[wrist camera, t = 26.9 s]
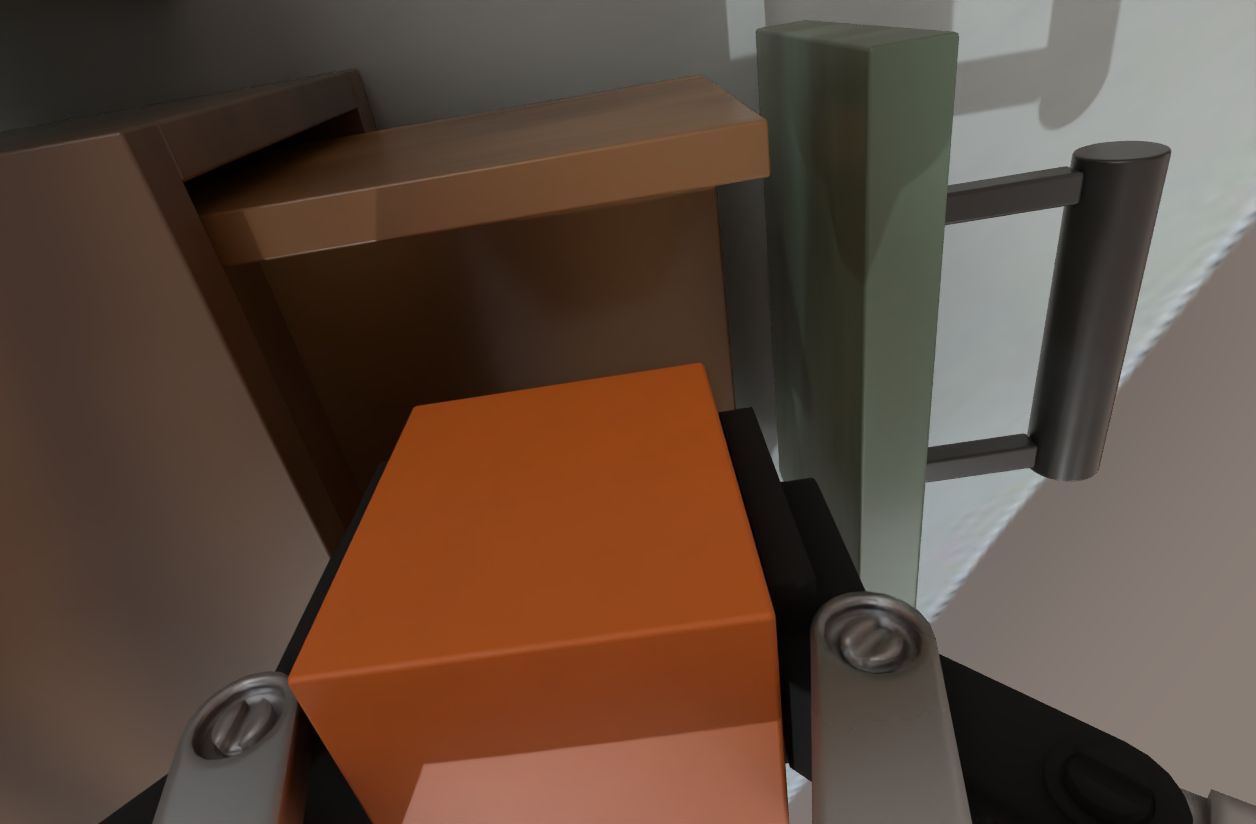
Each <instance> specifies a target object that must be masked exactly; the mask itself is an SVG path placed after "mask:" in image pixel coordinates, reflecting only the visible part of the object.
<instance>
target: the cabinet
mask: <svg viewBox="0 0 1256 824" xmlns="http://www.w3.org/2000/svg"><path fill="white" fill-rule="evenodd" d="M373 131H377V129H376V126H375V123H374V120H373V117H372V114H371V110H370V107H369V104H368V101H367V98H366V95H365V91H364V88H363V85H362V82H361V79H360V76H359V73H358V70H357V69H350V70H345V71H339V72H334V73H328V74H322V75H317V76H311V77H306V78H300V79H294V80H289V81H283V82H278V83H272V84H266V85H261V86H255V87H250V88H244V89H238V90H233V91H227V92H222V93H216V94H210V95H205V96H199V97H194V98H188V99H182V100H177V101H171V102H166V103H160V104H154V105H149V106H143V107H138V108H132V109H126V110H121V111H115V112H110V113H104V114H98V115H93V116H87V117H82V118H76V119H70V120H65V121H59V122H54V123H48V124H42V125H37V126H31V127H26V128H20V129H14V130H9V131H3V132H0V824H98V823H100V822H101V821H103V820H104V819H105V818H107V817H108V816H110V815H111V814H112V813H114V812H115V811H116V810H118V809H119V808H121V807H122V806H123V805H125V804H126V803H128V802H129V801H130V800H132V799H133V798H135V797H136V796H137V795H139V794H140V793H141V792H143V791H144V790H146V789H147V788H148V787H150V786H151V785H153V784H154V783H155V782H157V781H158V780H159V779H161V778H162V777H164V776H165V775H166V774H168V773H169V770H170V767H171V764H172V761H173V758H174V755H175V752H176V748H177V745H178V742H179V739H180V737H181V735H182V732H183V730H184V728H185V726H186V724H187V722H188V721H189V720H190V718H191V717H192V716H193V715H194V713H195V712H196V711H197V710H198V708H199V707H200V706H201V705H202V704H203V703H205V702H206V701H207V700H208V699H209V698H210V697H211V696H212V695H214V694H215V693H216V692H218V691H219V690H221V689H222V688H224V687H225V686H227V685H229V684H230V683H232V682H234V681H236V680H238V679H241V678H243V677H246V676H248V675H250V674H255V673H260V672H265V671H272V672H275V670H276V668H277V666H278V664H279V662H280V660H281V658H282V656H283V654H284V652H285V650H286V648H287V646H288V644H289V642H290V640H291V638H292V636H293V634H294V632H295V629H296V627H297V625H298V623H299V621H300V619H301V617H302V615H303V613H304V611H305V609H306V607H307V605H308V603H309V601H310V599H311V597H312V595H313V593H314V591H315V589H316V586H317V584H318V582H319V580H320V578H321V576H322V574H323V572H324V570H325V568H326V566H327V564H328V562H329V560H330V558H331V556H332V554H333V553H334V551H335V550H336V548H338V547H339V546H340V544H341V542H342V540H343V538H344V536H345V534H346V531H345V529H344V527H343V525H342V522H341V520H340V518H339V516H338V514H337V512H336V510H335V507H334V505H333V503H332V501H331V499H330V497H329V495H328V492H327V490H326V488H325V486H324V484H323V482H322V480H321V477H320V475H319V473H318V471H317V469H316V467H315V465H314V462H313V460H312V458H311V456H310V454H309V452H308V450H307V447H306V445H305V443H304V441H303V439H302V437H301V434H300V432H299V430H298V428H297V426H296V424H295V422H294V419H293V417H292V415H291V413H290V411H289V409H288V407H287V404H286V402H285V400H284V398H283V396H282V394H281V392H280V389H279V387H278V385H277V383H276V381H275V379H274V377H273V374H272V372H271V370H270V368H269V366H268V364H267V361H266V359H265V357H264V355H263V353H262V351H261V349H260V346H259V344H258V342H257V340H256V338H255V336H254V334H253V331H252V329H251V327H250V325H249V323H248V321H247V319H246V316H245V314H244V312H243V310H242V308H241V306H240V304H239V301H238V299H237V297H236V295H235V293H234V291H233V289H232V286H231V284H230V282H229V280H228V278H227V276H226V273H225V271H224V269H223V267H222V265H221V263H220V261H219V258H218V256H217V254H216V252H215V250H214V248H213V246H212V243H211V241H210V239H209V237H208V235H207V233H206V231H205V228H204V226H203V224H202V222H201V220H200V218H199V216H198V213H197V211H196V209H195V207H194V205H193V203H192V200H191V198H190V196H189V194H188V192H187V190H186V188H185V185H184V183H183V182H186V181H188V180H190V179H193V178H195V177H197V176H200V175H202V174H205V173H207V172H209V171H212V170H214V169H216V168H219V167H221V166H223V165H226V164H228V163H230V162H233V161H235V160H237V159H240V158H242V157H244V156H247V155H249V154H251V153H254V152H257V151H263V150H269V149H275V148H280V147H286V146H292V145H298V144H303V143H309V142H315V141H321V140H326V139H332V138H338V137H344V136H349V135H355V134H361V133H367V132H373Z"/></svg>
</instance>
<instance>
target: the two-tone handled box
mask: <svg viewBox="0 0 1256 824" xmlns="http://www.w3.org/2000/svg"><path fill="white" fill-rule="evenodd" d="M958 42H959V36H958V33H956V32H950V31H937V30H924V29H912V28H899V27H886V26H873V25H860V24H848V23H835V22H822V21H809V20H804V21H798V22H792V23H787V24H781V25H775V26H770V27H764V28H758V29H757V30H756V49H757V67H758V86H759V104H760V115H759V114H758V113H756V112H755V111H753V110H752V109H750V108H749V107H748V106H746V105H745V104H743V103H742V102H740V101H739V100H738V99H736V98H735V97H733V96H732V95H730V94H729V93H728V92H726V91H725V90H723V89H722V88H720V87H719V86H717V85H716V84H715V83H713V82H712V81H710V80H709V79H707V78H705V77H704V76H702V75H695V76H689V77H683V78H677V79H672V80H666V81H660V82H654V83H649V84H643V85H637V86H631V87H626V88H620V89H614V90H608V91H603V92H597V93H591V94H585V95H580V96H574V97H568V98H562V99H557V100H551V101H545V102H539V103H534V104H528V105H522V106H516V107H511V108H505V109H499V110H493V111H488V112H482V113H476V114H470V115H465V116H459V117H453V118H447V119H442V120H436V121H430V122H424V123H419V124H413V125H407V126H401V127H396V128H390V129H384V130H378V131H373V132H367V133H361V134H355V135H349V136H344V137H338V138H332V139H326V140H321V141H315V142H309V143H303V144H298V145H292V146H286V147H280V148H275V149H269V150H263V151H257V152H254V153H251V154H249V155H247V156H244V157H242V158H240V159H237V160H235V161H233V162H230V163H228V164H226V165H223V166H221V167H219V168H216V169H214V170H212V171H209V172H207V173H205V174H202V175H200V176H197V177H195V178H193V179H190V180H188V181H186V182H183V183H184V185H185V188H186V190H187V192H188V194H189V196H190V198H191V200H192V203H193V205H194V207H195V209H196V211H197V213H198V216H199V218H200V220H201V222H202V224H203V226H204V228H205V231H206V233H207V235H208V237H209V239H210V241H211V243H212V246H213V248H214V250H215V252H216V254H217V256H218V258H219V261H220V263H221V265H222V267H223V269H224V271H225V273H226V276H227V278H228V280H229V282H230V284H231V286H232V289H233V291H234V293H235V295H236V297H237V299H238V301H239V304H240V306H241V308H242V310H243V312H244V314H245V316H246V319H247V321H248V323H249V325H250V327H251V329H252V331H253V334H254V336H255V338H256V340H257V342H258V344H259V346H260V349H261V351H262V353H263V355H264V357H265V359H266V361H267V364H268V366H269V368H270V370H271V372H272V374H273V377H274V379H275V381H276V383H277V385H278V387H279V389H280V392H281V394H282V396H283V398H284V400H285V402H286V404H287V407H288V409H289V411H290V413H291V415H292V417H293V419H294V422H295V424H296V426H297V428H298V430H299V432H300V434H301V437H302V439H303V441H304V443H305V445H306V447H307V450H308V452H309V454H310V456H311V458H312V460H313V462H314V465H315V467H316V469H317V471H318V473H319V475H320V477H321V480H322V482H323V484H324V486H325V488H326V490H327V492H328V495H329V497H330V499H331V501H332V503H333V505H334V507H335V510H336V512H337V514H338V516H339V518H340V520H341V522H342V525H343V527H344V529H345V531H346V532H347V530H348V527H349V525H350V523H351V521H352V519H353V517H354V515H355V513H356V511H357V509H358V507H359V505H360V503H361V501H362V498H363V496H364V494H365V492H366V490H367V488H368V486H369V484H370V482H371V480H372V478H373V476H374V474H375V471H376V469H377V467H378V466H379V464H380V463H382V462H387V461H389V459H390V457H391V455H392V453H393V451H394V449H395V446H396V444H397V442H398V440H399V438H400V436H401V433H402V431H403V429H404V427H405V425H406V423H407V421H408V418H409V416H410V414H411V412H412V410H413V408H414V407H416V406H420V405H427V404H433V403H440V402H446V401H453V400H459V399H466V398H472V397H479V396H485V395H492V394H498V393H505V392H511V391H518V390H524V389H531V388H537V387H544V386H550V385H557V384H563V383H570V382H576V381H583V380H590V379H596V378H603V377H609V376H616V375H622V374H629V373H635V372H642V371H648V370H655V369H661V368H668V367H674V366H681V365H687V364H694V363H703V365H704V366H705V370H706V373H707V377H708V380H709V384H710V387H711V391H712V394H713V398H714V401H715V405H716V408H717V412H718V415H719V412H722V411H729V410H735V409H736V402H735V391H734V379H733V368H732V357H731V346H730V334H729V323H728V312H727V300H726V289H725V278H724V266H723V255H722V244H721V232H720V221H719V210H718V198H717V187H716V186H719V185H725V184H731V183H737V182H743V181H749V180H755V179H761V178H764V196H765V214H766V232H767V251H768V269H769V287H770V305H771V324H772V342H773V360H774V379H775V397H776V415H777V434H778V452H779V470H780V473H781V476H782V478H783V481H791V480H798V479H805V478H814V479H815V480H816V482H817V484H818V486H819V488H820V490H821V492H822V494H823V497H824V499H825V501H826V503H827V506H828V508H829V510H830V512H831V515H832V517H833V519H834V521H835V524H836V526H837V528H838V530H839V532H840V535H841V537H842V539H843V541H844V544H845V546H846V548H847V550H848V553H849V555H850V557H851V559H852V561H853V564H854V566H855V568H856V570H857V573H858V575H859V577H860V579H861V582H862V584H863V586H864V588H865V591H870V592H876V593H883V594H887V595H890V596H893V597H895V598H898V599H900V600H903V601H905V602H906V603H908V604H909V605H911V606H912V607H914V608H915V609H916V597H917V583H918V570H919V557H920V544H921V531H922V518H923V504H924V491H925V483H926V482H933V481H940V480H947V479H954V478H961V477H968V476H975V475H982V474H989V473H996V472H1003V471H1010V470H1017V469H1024V468H1030V469H1031V470H1033V471H1034V472H1036V473H1037V474H1040V475H1042V476H1044V477H1047V478H1050V479H1055V480H1059V481H1080V480H1085V479H1088V478H1090V477H1092V476H1094V475H1095V474H1096V473H1097V471H1098V470H1099V466H1100V462H1101V458H1102V453H1103V449H1104V445H1105V440H1106V435H1107V431H1108V427H1109V423H1110V418H1111V414H1112V409H1113V405H1114V401H1115V397H1116V392H1117V388H1118V383H1119V379H1120V375H1121V370H1122V366H1123V362H1124V357H1125V353H1126V349H1127V344H1128V340H1129V335H1130V331H1131V327H1132V322H1133V318H1134V314H1135V309H1136V305H1137V301H1138V296H1139V292H1140V287H1141V283H1142V279H1143V274H1144V270H1145V266H1146V261H1147V257H1148V253H1149V248H1150V244H1151V239H1152V235H1153V231H1154V226H1155V222H1156V218H1157V213H1158V209H1159V205H1160V200H1161V196H1162V191H1163V187H1164V183H1165V178H1166V174H1167V170H1168V165H1169V161H1170V157H1171V149H1170V147H1168V146H1166V145H1163V144H1159V143H1154V142H1145V141H1116V142H1105V143H1098V144H1092V145H1088V146H1085V147H1082V148H1079V149H1077V150H1075V151H1074V153H1073V155H1072V160H1071V166H1070V167H1067V166H1065V167H1059V168H1053V169H1047V170H1041V171H1034V172H1028V173H1022V174H1016V175H1010V176H1004V177H998V178H992V179H985V180H979V181H973V182H967V183H961V184H955V185H949V186H948V174H949V161H950V148H951V135H952V122H953V108H954V95H955V82H956V69H957V56H958ZM1062 206H1064V210H1063V216H1062V222H1061V228H1060V234H1059V241H1058V247H1057V253H1056V259H1055V266H1054V272H1053V278H1052V284H1051V290H1050V297H1049V303H1048V309H1047V315H1046V322H1045V328H1044V334H1043V340H1042V346H1041V353H1040V359H1039V365H1038V371H1037V378H1036V384H1035V390H1034V396H1033V402H1032V409H1031V415H1030V421H1029V427H1028V434H1027V435H1026V434H1016V435H1009V436H1003V437H996V438H989V439H982V440H975V441H968V442H961V443H954V444H947V445H941V446H934V447H928V438H929V425H930V412H931V399H932V386H933V372H934V359H935V346H936V333H937V320H938V306H939V293H940V280H941V267H942V254H943V240H944V227H945V225H949V224H956V223H962V222H968V221H974V220H981V219H987V218H993V217H999V216H1006V215H1012V214H1018V213H1024V212H1030V211H1037V210H1043V209H1049V208H1055V207H1062Z"/></svg>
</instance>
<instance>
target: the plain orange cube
mask: <svg viewBox="0 0 1256 824" xmlns="http://www.w3.org/2000/svg"><path fill="white" fill-rule="evenodd" d="M288 686H289V687H290V689H291V690H292V692H293V694H294V695H295V697H296V699H297V700H298V702H299V704H300V705H301V707H302V709H303V710H304V712H305V713H306V715H307V717H308V718H309V720H310V722H311V723H312V725H313V727H314V728H315V730H316V732H317V733H318V735H319V736H320V738H321V740H322V741H323V743H324V745H325V746H326V748H327V750H328V751H329V753H330V755H331V756H332V758H333V759H334V761H335V763H336V764H337V766H338V768H339V769H340V771H341V773H342V774H343V776H344V778H345V779H346V781H347V782H348V784H349V786H350V787H351V789H352V791H353V792H354V794H355V796H356V797H357V799H358V801H359V802H360V804H361V805H362V807H363V809H364V810H365V812H366V814H367V815H368V817H369V819H370V820H371V822H372V824H789V812H788V797H787V782H786V767H785V752H784V737H783V722H782V707H781V692H780V677H779V662H778V647H777V632H776V617H775V612H774V609H773V605H772V602H771V598H770V595H769V591H768V588H767V584H766V581H765V577H764V574H763V570H762V567H761V563H760V560H759V556H758V552H757V549H756V545H755V542H754V538H753V535H752V531H751V528H750V524H749V521H748V517H747V514H746V510H745V507H744V503H743V500H742V496H741V493H740V489H739V486H738V482H737V479H736V475H735V472H734V468H733V465H732V461H731V458H730V454H729V451H728V447H727V444H726V440H725V437H724V433H723V429H722V426H721V422H720V419H719V415H718V412H717V408H716V405H715V401H714V398H713V394H712V391H711V387H710V384H709V380H708V377H707V373H706V370H705V366H704V365H703V363H694V364H687V365H681V366H674V367H668V368H661V369H655V370H648V371H642V372H635V373H629V374H622V375H616V376H609V377H603V378H596V379H590V380H583V381H576V382H570V383H563V384H557V385H550V386H544V387H537V388H531V389H524V390H518V391H511V392H505V393H498V394H492V395H485V396H479V397H472V398H466V399H459V400H453V401H446V402H440V403H433V404H427V405H420V406H416V407H414V408H413V410H412V412H411V414H410V416H409V418H408V421H407V423H406V425H405V427H404V429H403V431H402V433H401V436H400V438H399V440H398V442H397V444H396V446H395V449H394V451H393V453H392V455H391V457H390V459H389V461H388V464H387V466H386V468H385V470H384V472H383V474H382V477H381V479H380V481H379V483H378V485H377V487H376V489H375V492H374V494H373V496H372V498H371V500H370V502H369V505H368V507H367V509H366V511H365V513H364V515H363V517H362V520H361V522H360V524H359V526H358V528H357V530H356V532H355V535H354V537H353V539H352V541H351V543H350V545H349V548H348V550H347V552H346V554H345V556H344V558H343V560H342V563H341V565H340V567H339V569H338V571H337V573H336V576H335V578H334V580H333V582H332V584H331V586H330V588H329V591H328V593H327V595H326V597H325V599H324V601H323V604H322V606H321V608H320V610H319V612H318V614H317V616H316V619H315V621H314V623H313V625H312V627H311V629H310V632H309V634H308V636H307V638H306V640H305V642H304V644H303V647H302V649H301V651H300V653H299V655H298V657H297V659H296V662H295V664H294V666H293V668H292V670H291V672H290V675H289V677H288Z"/></svg>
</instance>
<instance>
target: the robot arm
mask: <svg viewBox="0 0 1256 824" xmlns="http://www.w3.org/2000/svg"><path fill="white" fill-rule="evenodd" d="M719 419H720V422H721V426H722V429H723V433H724V437H725V440H726V444H727V447H728V451H729V454H730V458H731V461H732V465H733V468H734V472H735V475H736V479H737V482H738V486H739V489H740V493H741V496H742V500H743V503H744V507H745V510H746V514H747V517H748V521H749V524H750V528H751V531H752V535H753V538H754V542H755V545H756V549H757V552H758V556H759V560H760V563H761V567H762V570H763V574H764V577H765V581H766V584H767V588H768V591H769V595H770V598H771V602H772V605H773V609H774V612H775V617H776V632H777V647H778V662H779V677H780V692H781V707H782V722H783V737H784V752H785V764H786V763H789V766H790V768H792V769H793V770H795V771H796V772H798V773H799V774H801V775H802V776H804V777H805V778H807V779H808V780H810V781H811V782H812V824H1256V806H1254V805H1252V804H1249V803H1247V802H1244V801H1241V800H1239V799H1236V798H1233V797H1230V796H1228V795H1225V794H1223V793H1220V792H1217V791H1214V790H1211V791H1210V794H1209V796H1208V798H1204V797H1202V796H1199V795H1197V794H1194V793H1191V792H1189V791H1186V790H1184V789H1181V788H1179V787H1178V785H1177V784H1176V783H1175V781H1174V780H1173V779H1172V777H1171V776H1170V775H1169V773H1168V772H1166V771H1165V770H1164V769H1163V768H1162V767H1161V766H1160V765H1158V764H1157V763H1156V762H1155V761H1154V760H1153V759H1152V758H1151V757H1149V756H1148V755H1147V754H1145V753H1143V752H1141V751H1139V750H1138V749H1136V748H1135V747H1133V746H1131V745H1130V744H1128V743H1126V742H1124V741H1122V740H1120V739H1118V738H1116V737H1114V736H1112V735H1110V734H1108V733H1105V732H1103V731H1101V730H1099V729H1097V728H1095V727H1093V726H1091V725H1089V724H1087V723H1084V722H1082V721H1080V720H1078V719H1076V718H1074V717H1072V716H1069V715H1067V714H1065V713H1063V712H1061V711H1059V710H1057V709H1055V708H1052V707H1050V706H1048V705H1046V704H1044V703H1042V702H1040V701H1038V700H1036V699H1034V698H1031V697H1029V696H1027V695H1025V694H1023V693H1021V692H1019V691H1017V690H1014V689H1012V688H1010V687H1008V686H1006V685H1004V684H1002V683H1000V682H998V681H995V680H993V679H991V678H989V677H987V676H984V675H983V674H980V673H978V672H976V671H974V670H972V669H970V668H968V667H966V666H964V665H962V664H959V663H957V662H955V661H953V660H951V659H949V658H947V657H944V656H942V655H940V654H939V653H938V648H937V643H936V638H935V636H934V633H933V631H932V628H931V626H930V624H929V622H928V621H927V620H926V619H925V618H924V617H923V615H922V614H921V613H920V612H919V611H918V610H917V609H915V608H914V607H912V606H911V605H909V604H908V603H906V602H905V601H903V600H900V599H898V598H895V597H893V596H890V595H887V594H883V593H876V592H870V591H865V588H864V586H863V584H862V582H861V579H860V577H859V575H858V573H857V570H856V568H855V566H854V564H853V561H852V559H851V557H850V555H849V553H848V550H847V548H846V546H845V544H844V541H843V539H842V537H841V535H840V532H839V530H838V528H837V526H836V524H835V521H834V519H833V517H832V515H831V512H830V510H829V508H828V506H827V503H826V501H825V499H824V497H823V494H822V492H821V490H820V488H819V486H818V484H817V482H816V480H815V479H814V478H805V479H798V480H791V481H784V482H780V480H779V477H778V475H777V472H776V469H775V467H774V464H773V461H772V458H771V456H770V453H769V450H768V448H767V445H766V442H765V440H764V437H763V434H762V432H761V429H760V426H759V423H758V421H757V418H756V415H755V413H754V410H753V408H752V407H749V408H742V409H735V410H729V411H722V412H719ZM387 464H388V461H387V462H382V463H380V464H379V466H378V467H377V469H376V471H375V474H374V476H373V478H372V480H371V482H370V484H369V486H368V488H367V490H366V492H365V494H364V496H363V498H362V501H361V503H360V505H359V507H358V509H357V511H356V513H355V515H354V517H353V519H352V521H351V523H350V525H349V527H348V530H347V532H346V534H345V536H344V538H343V540H342V542H341V544H340V546H339V547H338V548H336V550H335V551H334V553H333V554H332V556H331V558H330V560H329V562H328V564H327V566H326V568H325V570H324V572H323V574H322V576H321V578H320V580H319V582H318V584H317V586H316V589H315V591H314V593H313V595H312V597H311V599H310V601H309V603H308V605H307V607H306V609H305V611H304V613H303V615H302V617H301V619H300V621H299V623H298V625H297V627H296V629H295V632H294V634H293V636H292V638H291V640H290V642H289V644H288V646H287V648H286V650H285V652H284V654H283V656H282V658H281V660H280V662H279V664H278V666H277V668H276V670H275V672H272V671H265V672H260V673H255V674H250V675H248V676H246V677H243V678H241V679H238V680H236V681H234V682H232V683H230V684H229V685H227V686H225V687H224V688H222V689H221V690H219V691H218V692H216V693H215V694H214V695H212V696H211V697H210V698H209V699H208V700H207V701H206V702H205V703H203V704H202V705H201V706H200V707H199V708H198V710H197V711H196V712H195V713H194V715H193V716H192V717H191V718H190V720H189V721H188V722H187V724H186V726H185V728H184V730H183V732H182V735H181V737H180V739H179V742H178V745H177V748H176V752H175V755H174V758H173V761H172V764H171V767H170V770H169V773H168V774H166V775H165V776H164V777H162V778H161V779H159V780H158V781H157V782H155V783H154V784H153V785H151V786H150V787H148V788H147V789H146V790H144V791H143V792H141V793H140V794H139V795H137V796H136V797H135V798H133V799H132V800H130V801H129V802H128V803H126V804H125V805H123V806H122V807H121V808H119V809H118V810H116V811H115V812H114V813H112V814H111V815H110V816H108V817H107V818H105V819H104V820H103V821H101V822H100V823H98V824H372V822H371V820H370V819H369V817H368V815H367V814H366V812H365V810H364V809H363V807H362V805H361V804H360V802H359V801H358V799H357V797H356V796H355V794H354V792H353V791H352V789H351V787H350V786H349V784H348V782H347V781H346V779H345V778H344V776H343V774H342V773H341V771H340V769H339V768H338V766H337V764H336V763H335V761H334V759H333V758H332V756H331V755H330V753H329V751H328V750H327V748H326V746H325V745H324V743H323V741H322V740H321V738H320V736H319V735H318V733H317V732H316V730H315V728H314V727H313V725H312V723H311V722H310V720H309V718H308V717H307V715H306V713H305V712H304V710H303V709H302V707H301V705H300V704H299V702H298V700H297V699H296V697H295V695H294V694H293V692H292V690H291V689H290V687H289V686H288V677H289V675H290V672H291V670H292V668H293V666H294V664H295V662H296V659H297V657H298V655H299V653H300V651H301V649H302V647H303V644H304V642H305V640H306V638H307V636H308V634H309V632H310V629H311V627H312V625H313V623H314V621H315V619H316V616H317V614H318V612H319V610H320V608H321V606H322V604H323V601H324V599H325V597H326V595H327V593H328V591H329V588H330V586H331V584H332V582H333V580H334V578H335V576H336V573H337V571H338V569H339V567H340V565H341V563H342V560H343V558H344V556H345V554H346V552H347V550H348V548H349V545H350V543H351V541H352V539H353V537H354V535H355V532H356V530H357V528H358V526H359V524H360V522H361V520H362V517H363V515H364V513H365V511H366V509H367V507H368V505H369V502H370V500H371V498H372V496H373V494H374V492H375V489H376V487H377V485H378V483H379V481H380V479H381V477H382V474H383V472H384V470H385V468H386V466H387Z"/></svg>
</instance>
